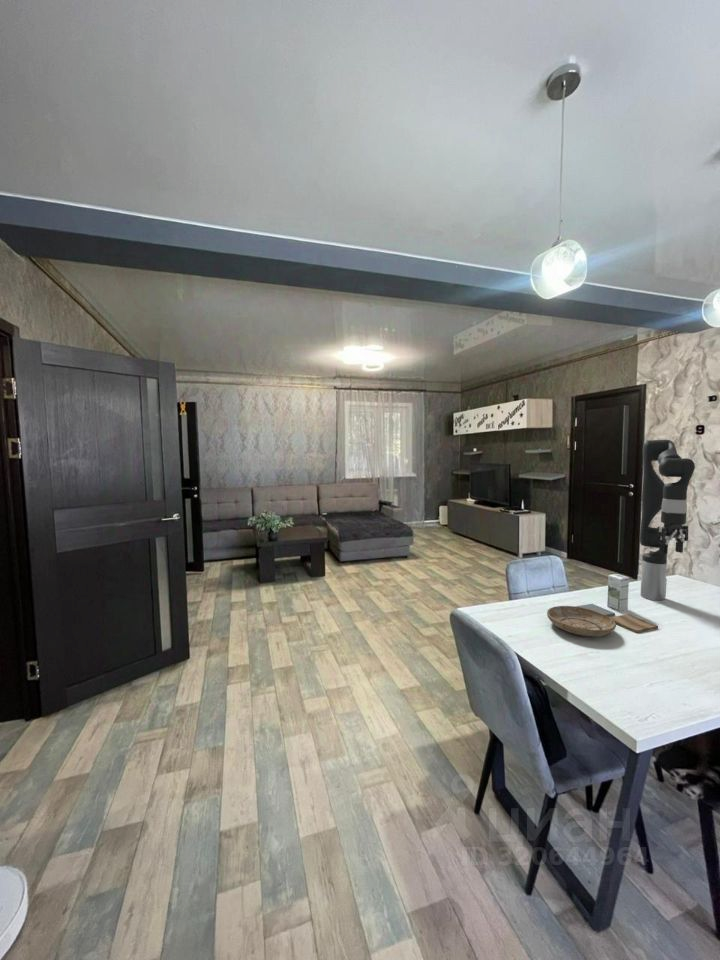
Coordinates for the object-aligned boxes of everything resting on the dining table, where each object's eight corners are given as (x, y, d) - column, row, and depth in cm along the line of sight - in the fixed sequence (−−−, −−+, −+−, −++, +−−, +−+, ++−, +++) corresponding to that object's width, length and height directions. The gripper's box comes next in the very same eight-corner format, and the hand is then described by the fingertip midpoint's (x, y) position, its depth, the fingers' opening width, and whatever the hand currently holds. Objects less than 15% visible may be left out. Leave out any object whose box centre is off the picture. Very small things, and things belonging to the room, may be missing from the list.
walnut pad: (628, 616, 164) (628, 614, 164) (658, 628, 153) (658, 625, 153) (607, 620, 160) (607, 617, 160) (636, 633, 149) (636, 630, 149)
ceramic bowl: (627, 646, 139) (627, 632, 139) (556, 639, 144) (556, 626, 144) (601, 619, 162) (601, 607, 162) (540, 614, 167) (540, 603, 166)
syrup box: (628, 609, 171) (629, 577, 170) (619, 611, 169) (620, 578, 168) (615, 604, 177) (617, 573, 176) (606, 606, 175) (607, 574, 174)
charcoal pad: (591, 605, 175) (591, 603, 175) (614, 615, 165) (615, 613, 165) (573, 608, 172) (573, 606, 172) (595, 619, 162) (595, 616, 161)
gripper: (675, 508, 154) (673, 549, 155) (650, 510, 149) (648, 552, 150) (697, 511, 147) (694, 553, 148) (671, 513, 142) (669, 557, 143)
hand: (671, 553), depth 149 cm, fingers open, 8 cm apart
